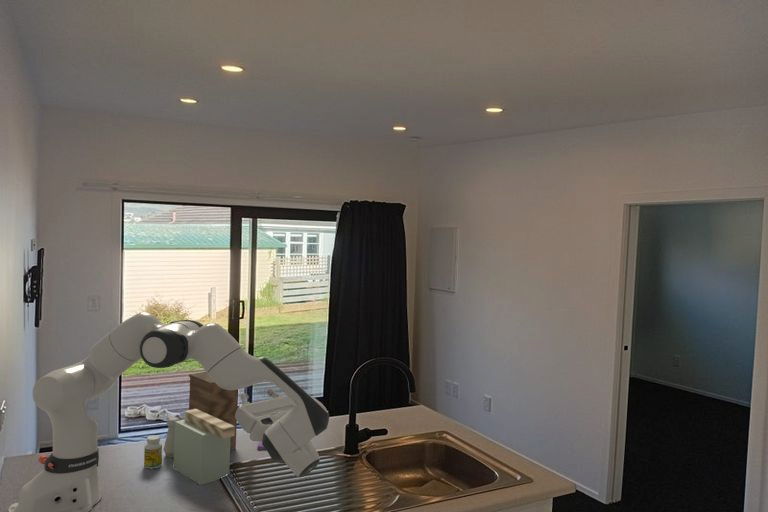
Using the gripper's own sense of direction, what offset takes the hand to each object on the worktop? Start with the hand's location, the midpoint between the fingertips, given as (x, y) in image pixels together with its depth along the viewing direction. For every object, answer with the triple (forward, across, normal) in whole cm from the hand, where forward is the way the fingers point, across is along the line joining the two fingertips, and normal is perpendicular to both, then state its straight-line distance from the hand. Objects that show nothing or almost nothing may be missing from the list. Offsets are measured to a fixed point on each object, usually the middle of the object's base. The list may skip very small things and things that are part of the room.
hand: (256, 392), depth 165 cm
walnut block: (+19, -12, +47) cm, 52 cm away
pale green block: (+5, +2, +39) cm, 39 cm away
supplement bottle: (+17, +11, +47) cm, 51 cm away
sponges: (+10, -29, +42) cm, 52 cm away
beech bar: (+10, +2, +24) cm, 26 cm away
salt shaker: (+21, +2, +48) cm, 53 cm away
